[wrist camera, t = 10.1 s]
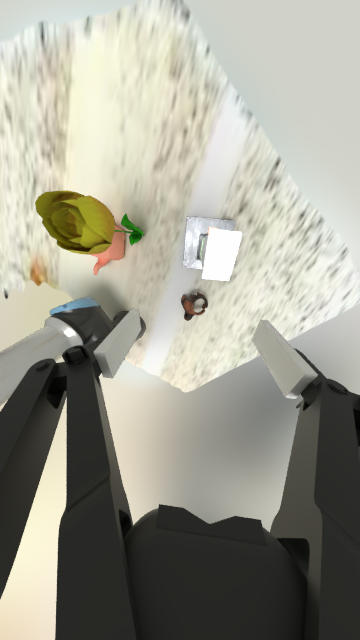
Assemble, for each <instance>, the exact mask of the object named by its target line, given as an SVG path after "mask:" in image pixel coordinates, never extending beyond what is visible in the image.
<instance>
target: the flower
mask: <svg viewBox="0 0 360 640" xmlns="http://www.w3.org/2000/svg"><path fill="white" fill-rule="evenodd" d="M35 204H36V210H37V213H38V214H39V215H40V216H41V217H42V218H43V221H42V223H43V225H44V226H45V228H46V229H47V231H48V232H49V234H50V235H51V236H52V237H53V238H55V239H57V244H58V246H60V247H61V248H63V249H66V250H68V251H71V252H74V253H80V254H100V253H103V252H104V251H106V250H107V249H108V248H109V247H110V246H111V244H112V238H113V235H114V233H115V232H125V233H131V235H130V236H129V239H130V244H131V245H132V244H134V243H136V242H138V241H139V240H140V239H141V237H142V235H144V233H143V232H142V230H140V229H139V228H138V227H135V226H134V225H133V224H132V223H131V222H130V221H129V220H128V217H127V214H125V215H124V216H123V218H122V221H121V224H122V226H124V227H126V228H127V229H129V230H133V232H128V231H120V230H115V221H114V216H113V215H112V213H111V212H110V211H109V210H108V208H107V207H106V206H105V205H104V204H103V203H101V202H100V201H98V200H97V199H95V198H93V197H91V196H84V195H82V194H79V193H76V192H72V191H53V192H45V193H43V194H42V195H41V196H39V197H38V199H37V200H36V202H35Z"/></svg>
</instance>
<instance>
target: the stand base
mask: <svg viewBox="0 0 360 640" xmlns="http://www.w3.org/2000/svg"><path fill="white" fill-rule="evenodd" d="M235 222H236V221H233V220H222V219H211V218H199V217H188V216H187V227H186V238H185V249H184V261H183V267H187V268H197V269H202V263H201V258H200V251H201V244H202V237H204V238H206V236H208V234H209V229H213V230H224V231H233V230H234V226H235Z"/></svg>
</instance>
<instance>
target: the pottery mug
mask: <svg viewBox="0 0 360 640" xmlns="http://www.w3.org/2000/svg"><path fill="white" fill-rule="evenodd" d="M185 297H186V296H185V295H183V296H182V299H181V303H182V305H183V308H184V310H185V315H184V319H185V320H187V321H189V320H191V318H192V317H193V316H194V314H195V315H201V314H203V313H204V312H205V310H204V309H205V307H206V308H207V307H208V301H207V299H206V298H205V296H204V295H202V294H200V293H199V292H197V296H196V295H190V296H189V297H190V299H191V302H190V301H188V300H185V301H184V298H185ZM200 298H202V299H204V301H205V304H204V305H203V307H202V308H203V310H202V311H201V312H199V313H196V312H195V311H194V310H193V305H194V303H195V301H196V300H197V299H200Z"/></svg>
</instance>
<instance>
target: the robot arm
mask: <svg viewBox="0 0 360 640" xmlns="http://www.w3.org/2000/svg"><path fill="white" fill-rule="evenodd" d="M50 315H51V317H49V318H47V319H46V320H45V325H44V327H43V328H42V329H40V330H38V331H36V332H35V333H33V334H31V335H29V336H27V337H26V338H24V339H22V340H21V341H19V342H17V343H15V344H13V345H12V346H10V347H8V348H6V349H5V350H3V351H1V352H0V406H1V405H2V404H3V403H5V402H6V401H7V400H8V401H7V403H6V404H5V406H4V407H3V409H2V410H1V412H0V599H1V596H2V594H3V591H4V589H5V586H6V583H7V580H8V577H9V575H10V572H11V569H12V566H13V563H14V560H15V557H16V554H17V551H18V548H19V545H20V542H21V538H22V535H23V532H24V529H25V526H26V522H27V519H28V516H29V513H30V510H31V507H32V503H33V500H34V497H35V494H36V491H37V488H38V485H39V482H40V478H41V475H42V472H43V469H44V466H45V463H46V460H47V456H48V453H49V450H50V447H51V444H52V441H53V437H54V434H55V431H56V428H57V425H58V421H59V419H60V415H61V412H62V409H63V406H64V403H65V399H66V396H67V501H66V508H65V511H64V513H63V515H62V518H61V522H60V526H59V537H58V568H57V601H56V637H55V640H360V395H357V394H354V393H351V392H349V391H348V390H347V389H346V388H345V387H344V386H343V385H341V384H340V383H338V382H336V381H334V380H331V379H327V378H326V377H325V376H324V375H323V374H322V373H321V372H320V371H319V370H318V369H317V368H316V367H315V366H314V365H313V364H312V363H311V362H310V361H309V360H308V359H307V358H306V357H305V355H304V354H302V353H301V352H300V351H298V350H297V349H295V348H293V347H292V346H291V345H290V344H289V343H288V342H287V341H286V340H285V339H284V337H283V336H282V335H281V334H280V333H279V332H278V331H277V330H276V329H275V328H274V327H273V325H272V324H271V323H270V322H269V321H268V320H260V322H259V324H258V326H257V329H256V331H255V333H254V336H253V338H252V341H253V343H254V345H255V346H256V348H257V350H258V352H259V353H260V355H261V357H262V358H263V360H264V362H265V363H266V365H267V367H268V369H269V370H270V372H271V374H272V376H273V377H274V379H275V381H276V382H277V384H278V386H279V388H280V389H281V391H282V393H283V395H284V396H285V398H294V399H296V398H297V397H298V396H299V395H300V394H301V395H302V397H303V398H304V399H303V400H302V401H301V402H300V403H299V404H298V405H297V406H296V408H299V407H300V411H299V416H298V421H297V426H296V431H295V436H294V441H293V446H292V451H291V456H290V461H289V466H288V471H287V477H286V481H285V486H284V492H283V497H282V501H281V506H280V509H279V512H278V513H277V515H276V516H275V518H274V521H273V523H272V526H271V530H270V532H268V531H267V530H266V529H265V528H263V527H262V523H261V520H257V519H251V518H244V517H238V516H234V517H231V518H227V519H224V520H221V521H218V522H215V523H212V524H208V523H206V522H205V521H203V520H202V519H200V518H198V517H197V516H195V515H194V514H192V513H190V512H189V511H187V510H186V509H184V508H179V507H173V506H167V505H160V504H159V508H158V509H155V510H152V511H150V512H148V513H147V514H145V515H144V516H143V517H141V518H140V519H139V520H138V521H137V522H136V523H135V524H134V526H133V522H132V518H131V513H130V509H129V504H128V500H127V497H126V493H125V491H124V487H123V484H122V480H121V475H120V470H119V466H118V461H117V457H116V452H115V447H114V443H113V438H112V434H111V429H110V425H109V420H108V416H107V411H106V407H105V402H104V397H103V393H102V388H101V384H100V379H99V376H100V374H101V373H102V375H103V377H106V378H113V377H114V376H115V374H116V372H117V370H118V369H119V367H120V365H121V364H122V362H123V360H124V359H125V357H126V355H127V354H128V352H129V350H130V349H131V347H132V345H133V343H134V342H135V341H136V340H138V339H139V338H141V337H142V336H143V334H144V332H145V329H146V327H145V323H144V321H143V320H142V318H141V317H140V316H139V309H131V310H130V311H123V312H120V313H118V314H117V315H116V316H115V317H114V319H113V321H111V320H110V319H109V317H108V316H107V315H106V314H105V312H104V311H103V310H102V309H101V306H100V305H98V304H97V302H96V301H95V300H94V299H93V298H91V297H84V298H80V299H77V300H74V301H72V302H69V303H66V304H64V305H62V306H58V307H56V308H54V309H52V310H50ZM61 357H63V359H64V361H65V362H61V363H56V361H57V360H58V359H59V358H61Z"/></svg>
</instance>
